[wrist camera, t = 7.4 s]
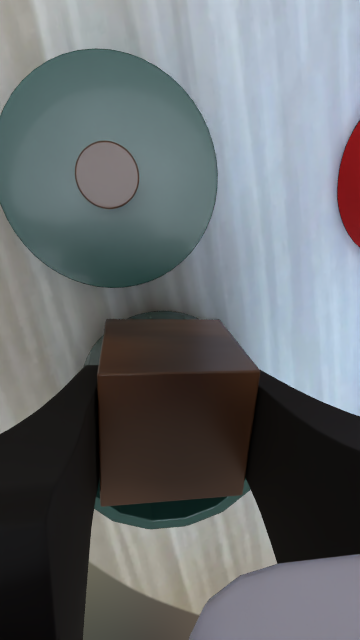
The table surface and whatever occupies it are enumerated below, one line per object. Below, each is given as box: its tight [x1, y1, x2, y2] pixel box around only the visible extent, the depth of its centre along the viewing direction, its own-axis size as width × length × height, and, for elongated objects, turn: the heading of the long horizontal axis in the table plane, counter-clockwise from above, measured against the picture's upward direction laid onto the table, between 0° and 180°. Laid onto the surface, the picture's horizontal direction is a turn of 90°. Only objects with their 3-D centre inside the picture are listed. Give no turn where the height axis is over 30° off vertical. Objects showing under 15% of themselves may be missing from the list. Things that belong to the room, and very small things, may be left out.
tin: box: [83, 311, 250, 529], centre depth 18 cm, size 10×10×6 cm
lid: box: [0, 49, 218, 288], centre depth 15 cm, size 10×10×4 cm
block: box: [97, 319, 260, 507], centre depth 11 cm, size 4×4×4 cm
